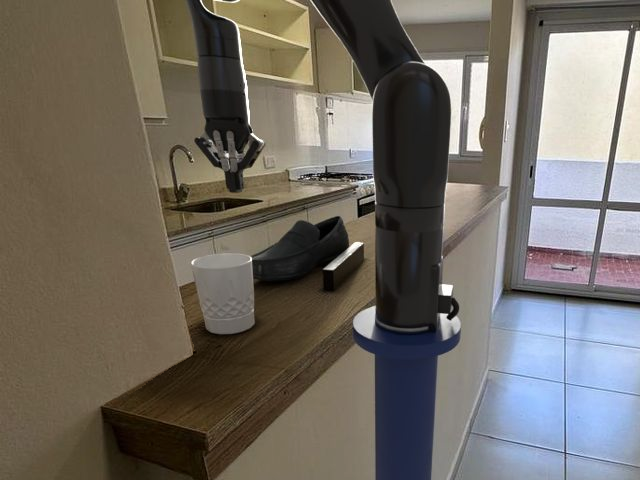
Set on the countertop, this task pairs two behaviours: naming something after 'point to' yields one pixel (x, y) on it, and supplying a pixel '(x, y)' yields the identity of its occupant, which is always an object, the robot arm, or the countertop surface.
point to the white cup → (225, 291)
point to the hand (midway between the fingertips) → (236, 192)
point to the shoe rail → (342, 266)
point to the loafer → (301, 250)
